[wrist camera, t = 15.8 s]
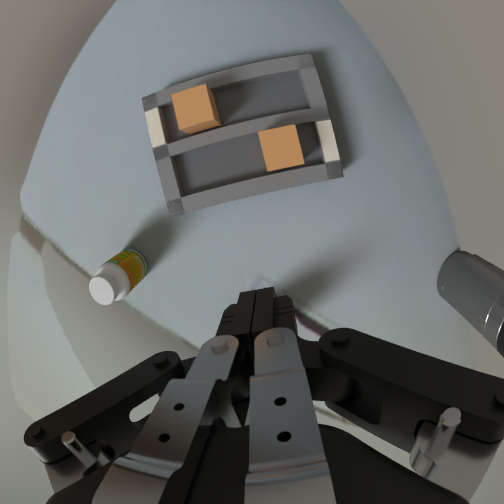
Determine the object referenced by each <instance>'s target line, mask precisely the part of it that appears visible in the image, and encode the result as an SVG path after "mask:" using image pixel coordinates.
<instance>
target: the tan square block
mask: <svg viewBox="0 0 504 504" xmlns="http://www.w3.org/2000/svg"><path fill="white" fill-rule="evenodd" d="M171 96H172V101H173V105H174V110H175V114H176V118H177V122H178V127H179V130H181V131H183V132H186V133H189V134H194V133H197V132H201V131H204V130H207V129H211V128H214V127H218V126H222V125H221V121H220V117H219V113H218V110H217V106H216V102H215V98H214V94H213V93H212V91H211V90H210V89H209V88H208V86H207V85H206V84H202V85H199V86H196V87H193V88H190V89H187V90H184V91H181V92H178V93H175V94H172V95H171Z"/></svg>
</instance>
